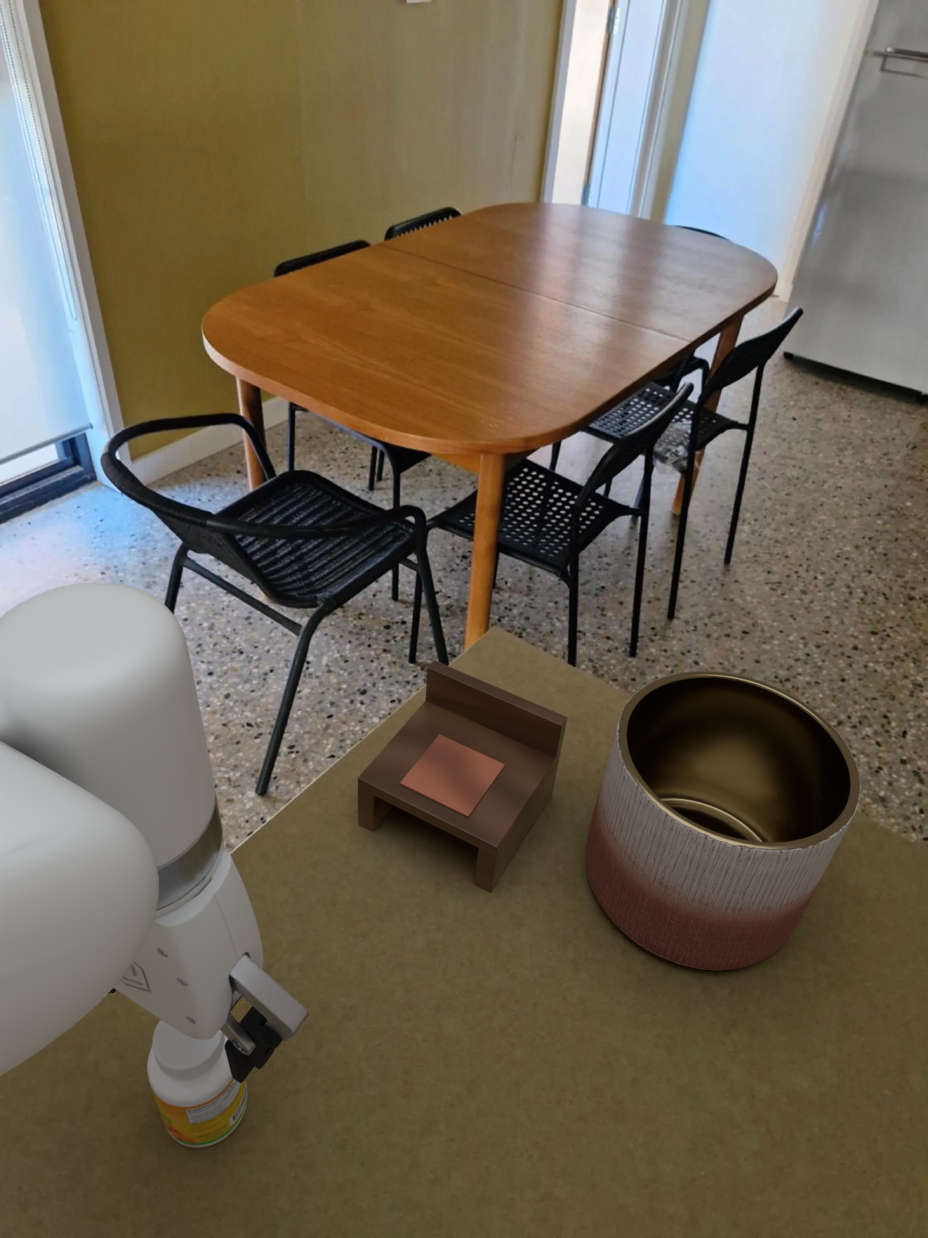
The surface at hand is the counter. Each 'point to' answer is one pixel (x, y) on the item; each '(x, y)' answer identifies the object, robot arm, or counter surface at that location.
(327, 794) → the counter surface
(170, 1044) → the supplement bottle
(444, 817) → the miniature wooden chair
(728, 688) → the planter
